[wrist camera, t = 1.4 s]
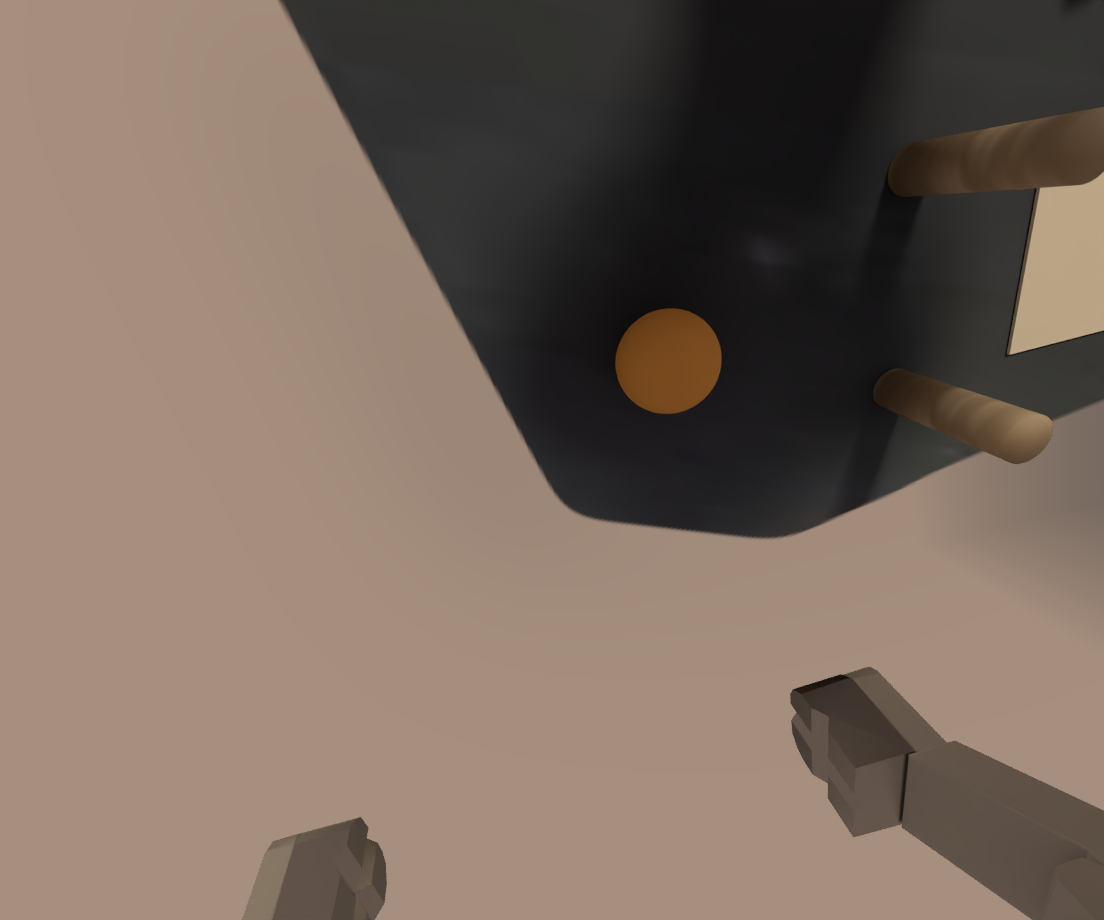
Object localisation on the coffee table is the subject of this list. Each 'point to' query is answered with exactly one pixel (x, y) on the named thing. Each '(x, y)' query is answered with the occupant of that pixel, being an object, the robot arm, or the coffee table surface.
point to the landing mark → (1061, 268)
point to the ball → (668, 361)
